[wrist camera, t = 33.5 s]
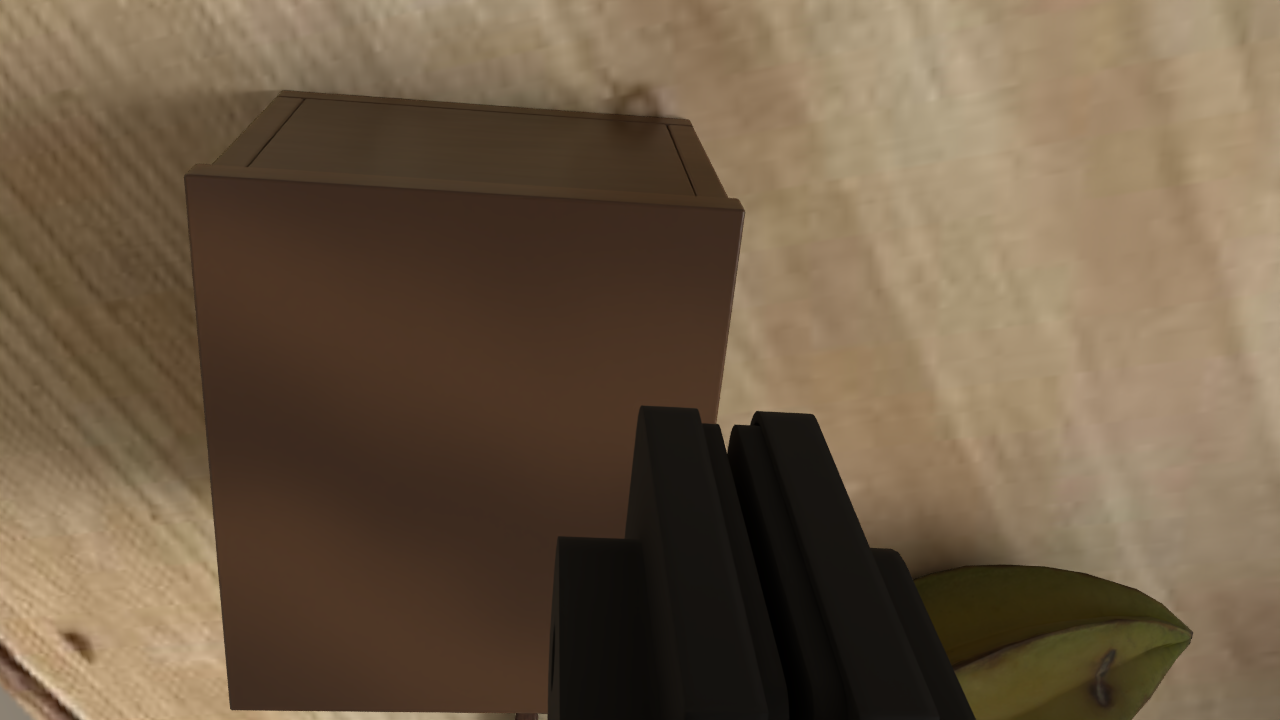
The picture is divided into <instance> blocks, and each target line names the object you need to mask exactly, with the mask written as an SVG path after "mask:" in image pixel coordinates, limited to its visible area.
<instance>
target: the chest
mask: <svg viewBox="0 0 1280 720" xmlns="http://www.w3.org/2000/svg"><path fill="white" fill-rule="evenodd" d="M212 165H225V166H240V167H256V168H271V169H287V170H302V171H318V172H333V173H349V174H364V175H380V176H395V177H411V178H426V179H442V180H457V181H473V182H488V183H503V184H519V185H534V186H550V187H565V188H581V189H596V190H612V191H627V192H643V193H658V194H674V195H689V196H705V197H720V198H728V196H727V194H726V192H725V190H724V188H723V186H722V184H721V182H720V180H719V178H718V176H717V174H716V172H715V170H714V168H713V166H712V164H711V162H710V160H709V158H708V156H707V154H706V152H705V150H704V148H703V146H702V144H701V142H700V140H699V138H698V136H697V134H696V132H695V130H694V128H693V126H692V124H691V122H690V120H685V119H671V118H658V117H644V116H630V115H616V114H602V113H589V112H575V111H561V110H547V109H533V108H520V107H506V106H492V105H478V104H464V103H451V102H437V101H423V100H409V99H395V98H382V97H368V96H354V95H340V94H326V93H312V92H299V91H285V90H284V91H281V93H280V94H279V95H278V96H277V98H275V99H274V100H273V101H272V102H271V103H270V104H269V106H268V107H267V108H266V109H265V110H264V111H263V112H262V113H261V114H260V115H259V116H258V117H257V118H256V119H255V120H254V121H253V122H252V123H251V124H250V125H249V126H248V127H247V129H246V130H245V131H244V132H243V133H242V134H241V135H240V136H239V137H238V138H237V139H236V140H235V141H234V142H233V143H232V144H231V145H230V146H229V147H228V148H227V149H226V150H225V151H224V153H223V154H222V155H221V156H220V157H219V158H218V159H217V160H216V161H215V162H214V163H213V164H212Z"/></svg>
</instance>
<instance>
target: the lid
mask: <svg viewBox="0 0 1280 720" xmlns="http://www.w3.org/2000/svg"><path fill="white" fill-rule="evenodd" d="M184 182H185V194H186V205H187V217H188V228H189V240H190V251H191V263H192V274H193V286H194V298H195V309H196V321H197V332H198V344H199V355H200V367H201V378H202V390H203V401H204V413H205V425H206V436H207V448H208V459H209V471H210V482H211V494H212V505H213V517H214V528H215V540H216V552H217V563H218V575H219V586H220V598H221V609H222V621H223V632H224V644H225V655H226V667H227V679H228V690H229V702H230V709H231V710H269V711H360V712H450V713H541V714H548V671H549V645H550V625H551V608H552V594H553V581H554V568H555V555H556V545H557V539H558V536H564V537H590V538H617V539H624V538H625V528H626V519H627V510H628V501H629V492H630V483H631V473H632V464H633V455H634V446H635V437H636V428H637V420H638V414H639V409H640V407H641V405H644V406H664V407H683V408H697V409H698V411H699V413H700V417H701V422H702V423H709V424H716V421H717V414H718V407H719V399H720V392H721V385H722V378H723V370H724V363H725V356H726V348H727V341H728V334H729V327H730V319H731V312H732V305H733V297H734V290H735V283H736V276H737V268H738V261H739V254H740V246H741V239H742V232H743V224H744V217H745V210H744V208H743V206H742V205H741V203H740V201H739V199H736V198H720V197H705V196H689V195H674V194H658V193H643V192H627V191H612V190H596V189H581V188H565V187H550V186H534V185H519V184H503V183H488V182H473V181H457V180H442V179H426V178H411V177H395V176H380V175H364V174H349V173H333V172H318V171H302V170H287V169H271V168H256V167H240V166H225V165H209V164H195V165H194V166H193V167H192V168H191V169H190V170H189V171H188V172H187V173H186V174H185V176H184Z"/></svg>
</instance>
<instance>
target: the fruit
mask: <svg viewBox="0 0 1280 720" xmlns="http://www.w3.org/2000/svg"><path fill="white" fill-rule="evenodd" d="M913 581H914V583H915V586H916V588H917V590H918V592H919V595H920V597H921V599H922V601H923V603H924V606H925V608H926V610H927V612H928V614H929V617H930V619H931V621H932V623H933V625H934V628H935V630H936V632H937V634H938V636H939V639H940V641H941V643H942V645H943V648H944V650H945V652H946V654H947V656H948V659H949V661H950V663H951V665H952V667H953V670H954V672H955V674H956V676H957V678H958V681H959V683H960V685H961V687H962V689H963V692H964V694H965V696H966V698H967V701H968V703H969V705H970V707H971V709H972V712H973V714H974V716H975V718H976V720H1132V718H1133V717H1134V716H1135V715H1136V714H1137V713H1138V712H1139V710H1140V709H1141V708H1142V707H1143V706H1144V705H1145V704H1146V702H1147V701H1148V700H1149V699H1150V698H1151V696H1152V695H1153V693H1154V692H1155V690H1156V689H1157V687H1158V686H1159V684H1160V683H1161V681H1162V679H1163V678H1164V676H1165V675H1166V673H1167V672H1168V670H1169V669H1170V668H1171V666H1172V665H1173V663H1174V662H1175V660H1176V659H1177V658H1178V657H1179V656H1180V655H1181V653H1182V652H1183V651H1184V650H1185V649H1186V648H1187V646H1188V645H1189V644H1190V641H1191V639H1192V635H1193V632H1192V631H1191V630H1190V629H1189V628H1188V627H1187V626H1186V625H1185V624H1184V623H1183V622H1182V621H1180V620H1179V619H1178V618H1177V617H1176V616H1175V615H1174V614H1173V613H1172V612H1171V611H1169V610H1168V609H1167V608H1166V607H1165V606H1164V605H1163V604H1162V603H1160V602H1158V601H1156V600H1155V599H1153V598H1151V597H1149V596H1148V595H1146V594H1144V593H1142V592H1141V591H1139V590H1137V589H1134V588H1131V587H1128V586H1125V585H1122V584H1118V583H1115V582H1112V581H1109V580H1105V579H1102V578H1099V577H1096V576H1092V575H1089V574H1085V573H1080V572H1074V571H1068V570H1062V569H1056V568H1050V567H1041V566H1020V565H980V566H963V567H959V568H954V569H950V570H946V571H941V572H937V573H932V574H929V575H926V576H923V577H920V578H917V579H914V580H913Z"/></svg>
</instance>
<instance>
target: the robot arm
mask: <svg viewBox="0 0 1280 720" xmlns="http://www.w3.org/2000/svg"><path fill="white" fill-rule="evenodd" d="M548 720H976V718H975V716H974V714H973V712H972V709H971V707H970V705H969V703H968V701H967V698H966V696H965V694H964V692H963V689H962V687H961V685H960V683H959V681H958V678H957V676H956V674H955V672H954V670H953V667H952V665H951V663H950V661H949V659H948V656H947V654H946V652H945V650H944V648H943V645H942V643H941V641H940V639H939V636H938V634H937V632H936V630H935V628H934V625H933V623H932V621H931V619H930V617H929V614H928V612H927V610H926V608H925V606H924V603H923V601H922V599H921V597H920V595H919V592H918V590H917V588H916V586H915V583H914V581H913V579H912V577H911V575H910V572H909V570H908V568H907V566H906V564H905V562H904V560H903V559H902V557H901V556H900V554H899V553H898V552H897V551H895V550H893V549H882V548H870V547H869V545H868V542H867V540H866V537H865V535H864V532H863V530H862V528H861V525H860V523H859V520H858V518H857V516H856V513H855V511H854V508H853V506H852V504H851V501H850V499H849V496H848V494H847V491H846V489H845V487H844V484H843V482H842V479H841V477H840V475H839V472H838V470H837V467H836V465H835V463H834V460H833V458H832V455H831V453H830V451H829V448H828V446H827V443H826V441H825V438H824V436H823V434H822V431H821V429H820V426H819V424H818V422H817V419H816V418H815V416H814V415H813V414H803V413H783V412H763V411H756V412H755V414H754V415H753V418H752V421H751V424H750V425H734V426H733V428H732V431H731V435H730V440H729V446H728V453H727V452H726V448H725V444H724V440H723V436H722V433H721V429H720V426H719V424H709V423H702V422H701V417H700V413H699V411H698V409H697V408H683V407H664V406H644V405H641V407H640V409H639V414H638V420H637V428H636V437H635V446H634V455H633V464H632V473H631V483H630V492H629V501H628V510H627V519H626V528H625V538H624V539H617V538H590V537H564V536H558V539H557V545H556V555H555V568H554V581H553V594H552V608H551V625H550V645H549V671H548Z"/></svg>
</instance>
